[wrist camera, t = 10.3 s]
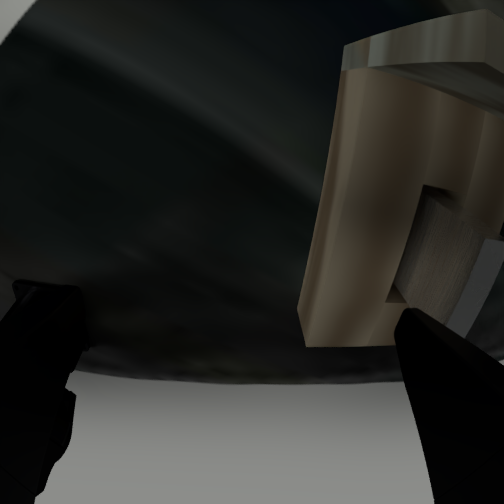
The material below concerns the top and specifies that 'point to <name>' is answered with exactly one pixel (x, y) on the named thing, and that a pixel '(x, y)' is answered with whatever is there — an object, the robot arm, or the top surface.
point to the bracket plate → (448, 262)
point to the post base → (401, 165)
